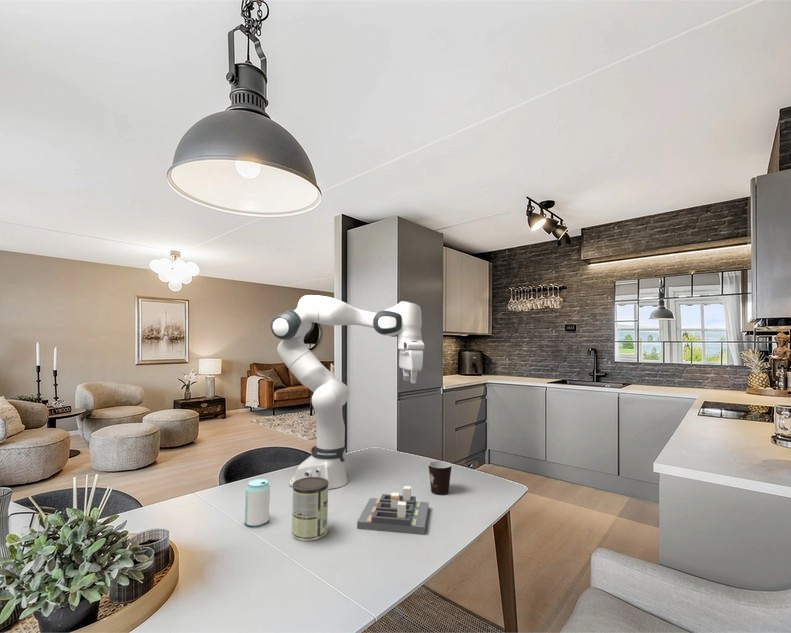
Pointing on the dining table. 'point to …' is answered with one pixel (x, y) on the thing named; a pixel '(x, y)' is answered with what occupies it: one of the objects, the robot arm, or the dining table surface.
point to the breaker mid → (394, 499)
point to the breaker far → (407, 493)
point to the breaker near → (401, 509)
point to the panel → (394, 516)
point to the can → (257, 502)
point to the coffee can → (310, 508)
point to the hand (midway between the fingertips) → (409, 381)
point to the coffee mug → (439, 477)
